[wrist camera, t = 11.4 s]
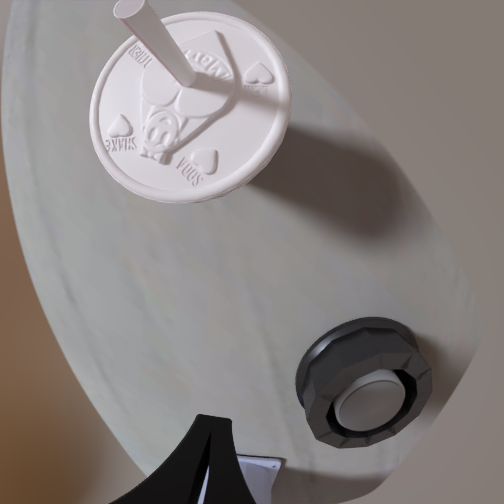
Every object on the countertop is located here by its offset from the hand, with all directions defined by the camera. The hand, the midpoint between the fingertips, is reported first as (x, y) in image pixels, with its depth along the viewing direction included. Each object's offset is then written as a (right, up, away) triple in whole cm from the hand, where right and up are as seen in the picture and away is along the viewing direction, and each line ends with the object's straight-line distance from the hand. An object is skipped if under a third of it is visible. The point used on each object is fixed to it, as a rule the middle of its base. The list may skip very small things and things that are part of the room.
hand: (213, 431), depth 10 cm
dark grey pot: (+10, -2, +10) cm, 14 cm away
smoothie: (0, +14, +6) cm, 15 cm away
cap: (+10, -2, +9) cm, 14 cm away
